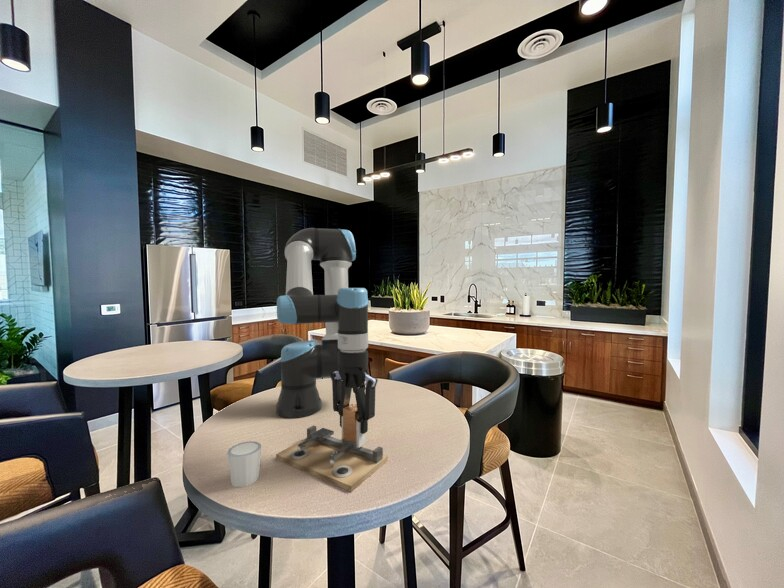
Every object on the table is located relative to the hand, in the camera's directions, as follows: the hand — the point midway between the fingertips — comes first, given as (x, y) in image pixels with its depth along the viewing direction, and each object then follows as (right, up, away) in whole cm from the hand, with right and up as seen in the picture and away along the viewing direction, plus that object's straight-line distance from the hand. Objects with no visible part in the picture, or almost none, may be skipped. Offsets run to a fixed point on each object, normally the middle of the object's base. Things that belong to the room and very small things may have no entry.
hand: (353, 442), depth 80 cm
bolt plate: (-5, -4, -1) cm, 7 cm away
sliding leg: (-2, -2, -2) cm, 4 cm away
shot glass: (-23, -4, -9) cm, 25 cm away
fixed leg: (-11, -2, +3) cm, 11 cm away
